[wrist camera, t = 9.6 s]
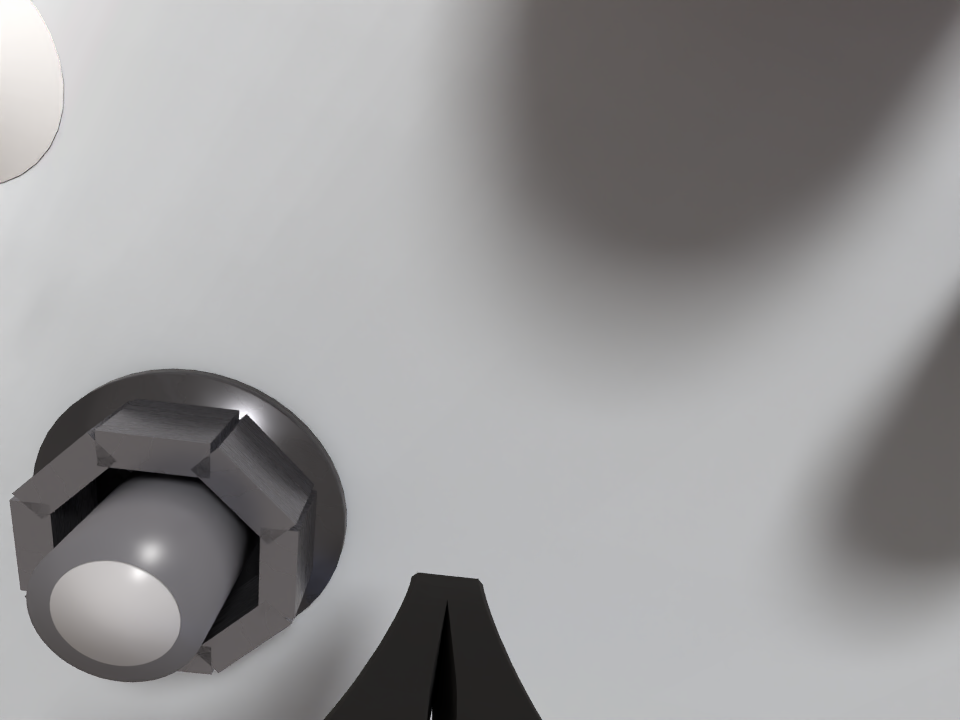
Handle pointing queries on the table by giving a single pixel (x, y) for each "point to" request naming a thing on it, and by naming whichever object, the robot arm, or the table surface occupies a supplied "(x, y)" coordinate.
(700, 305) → the table surface
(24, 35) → the champagne flute
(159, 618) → the cap
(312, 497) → the socket
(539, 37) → the table surface
